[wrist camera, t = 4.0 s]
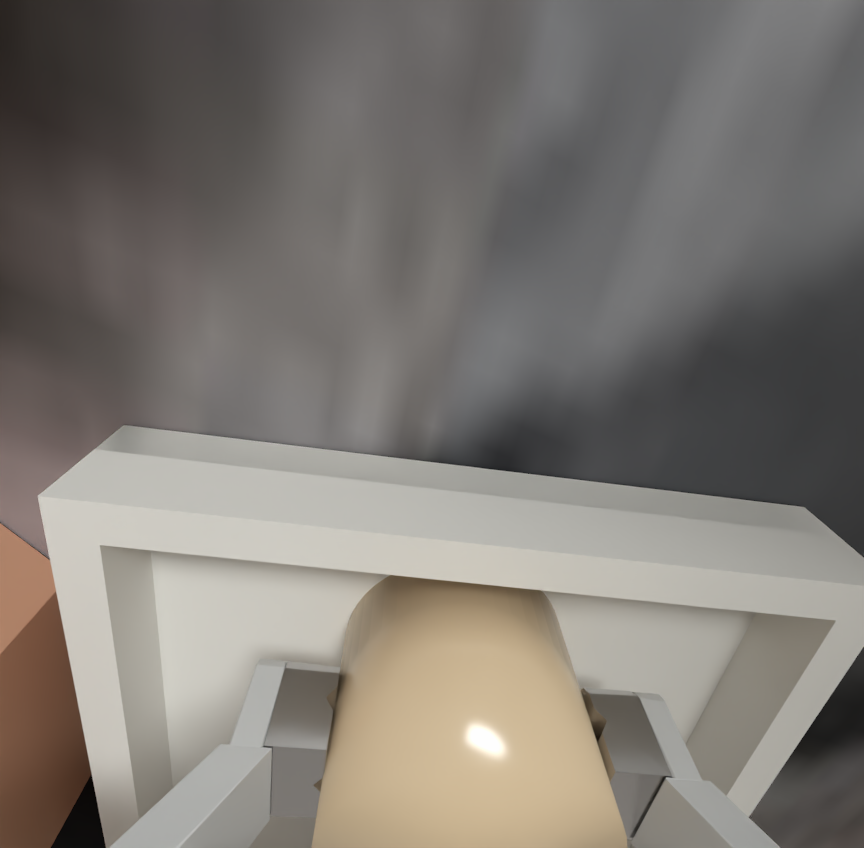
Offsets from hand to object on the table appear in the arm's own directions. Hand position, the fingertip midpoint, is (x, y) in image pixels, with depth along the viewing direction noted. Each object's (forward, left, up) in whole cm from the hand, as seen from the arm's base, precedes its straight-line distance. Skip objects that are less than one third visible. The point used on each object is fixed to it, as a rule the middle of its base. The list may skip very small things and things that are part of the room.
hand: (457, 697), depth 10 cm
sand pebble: (0, 0, -1) cm, 1 cm away
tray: (0, +3, -2) cm, 4 cm away
